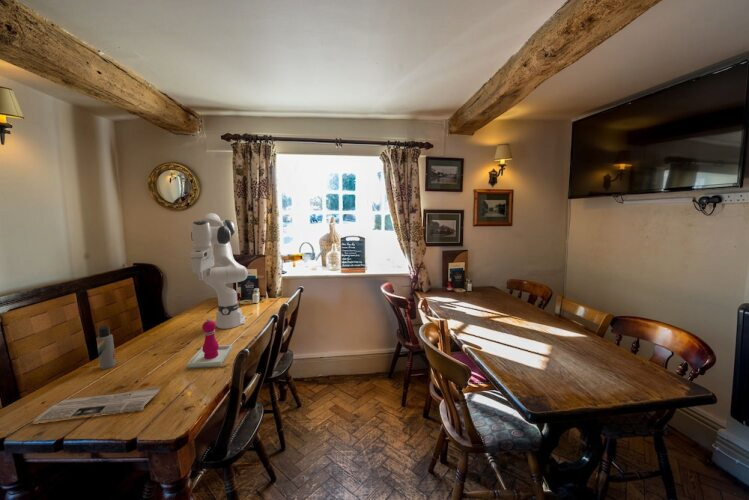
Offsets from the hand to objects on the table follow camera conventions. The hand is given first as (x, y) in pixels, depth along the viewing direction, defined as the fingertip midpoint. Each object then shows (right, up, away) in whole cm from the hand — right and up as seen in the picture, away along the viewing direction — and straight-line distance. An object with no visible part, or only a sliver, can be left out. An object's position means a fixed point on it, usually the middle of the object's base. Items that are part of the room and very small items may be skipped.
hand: (205, 277), depth 155 cm
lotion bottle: (-38, -42, -14) cm, 58 cm away
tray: (+7, -40, -7) cm, 41 cm away
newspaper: (-14, -46, -43) cm, 64 cm away
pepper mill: (+7, -40, -6) cm, 41 cm away
